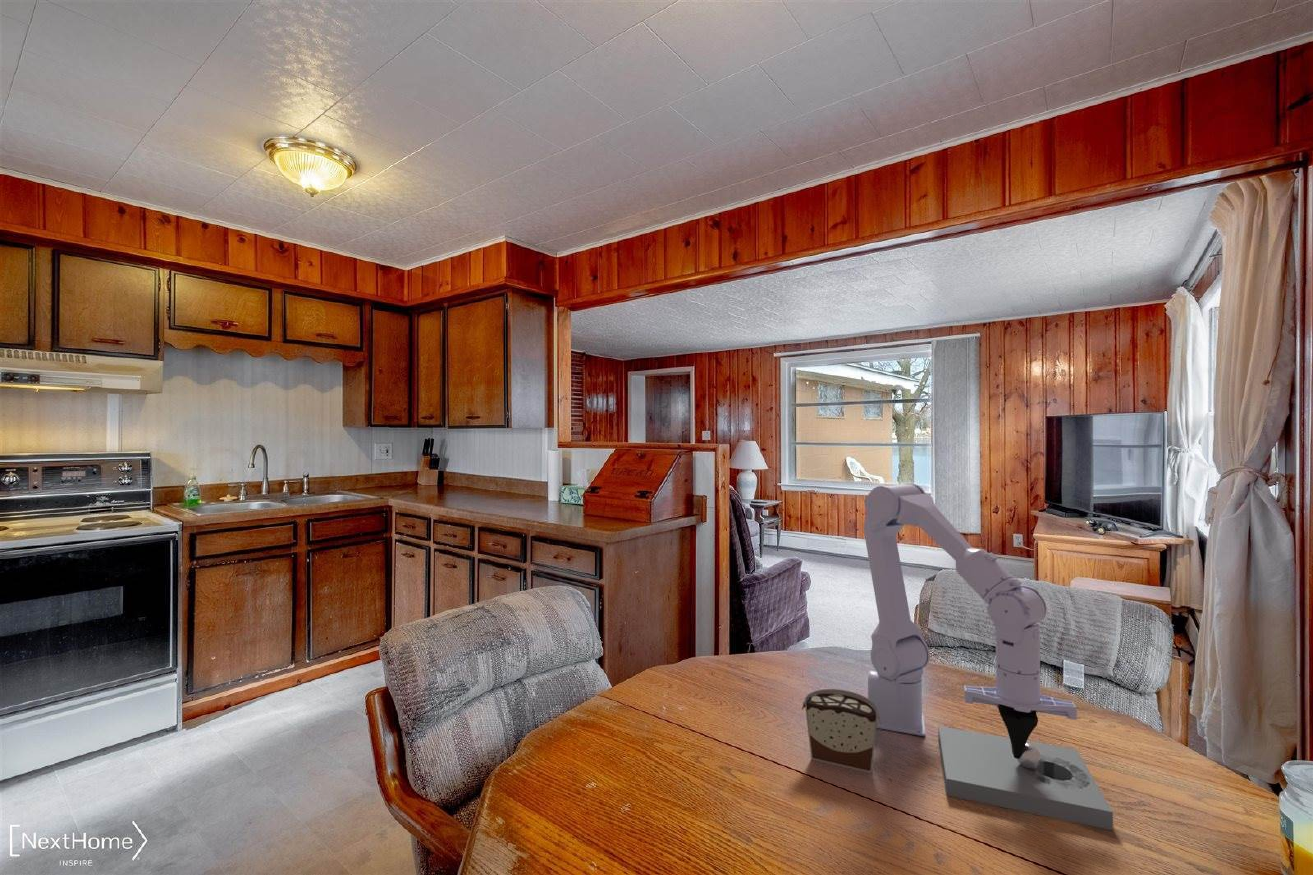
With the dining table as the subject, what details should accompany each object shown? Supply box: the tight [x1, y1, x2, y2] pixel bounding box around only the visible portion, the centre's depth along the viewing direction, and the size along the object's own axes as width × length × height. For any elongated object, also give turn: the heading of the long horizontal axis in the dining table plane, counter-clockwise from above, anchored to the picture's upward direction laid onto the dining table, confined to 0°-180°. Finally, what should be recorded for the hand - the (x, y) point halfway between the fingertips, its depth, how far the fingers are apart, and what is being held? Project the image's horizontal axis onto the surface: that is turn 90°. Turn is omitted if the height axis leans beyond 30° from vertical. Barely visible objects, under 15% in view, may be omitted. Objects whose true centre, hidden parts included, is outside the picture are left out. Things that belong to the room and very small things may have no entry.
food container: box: [801, 688, 881, 774], centre depth 94 cm, size 12×6×10 cm, turn 65°
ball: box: [1016, 743, 1042, 769], centre depth 86 cm, size 4×4×4 cm
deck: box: [937, 725, 1114, 831], centre depth 87 cm, size 20×16×2 cm
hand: (1018, 755), depth 87 cm, fingers closed, pressing on ball
